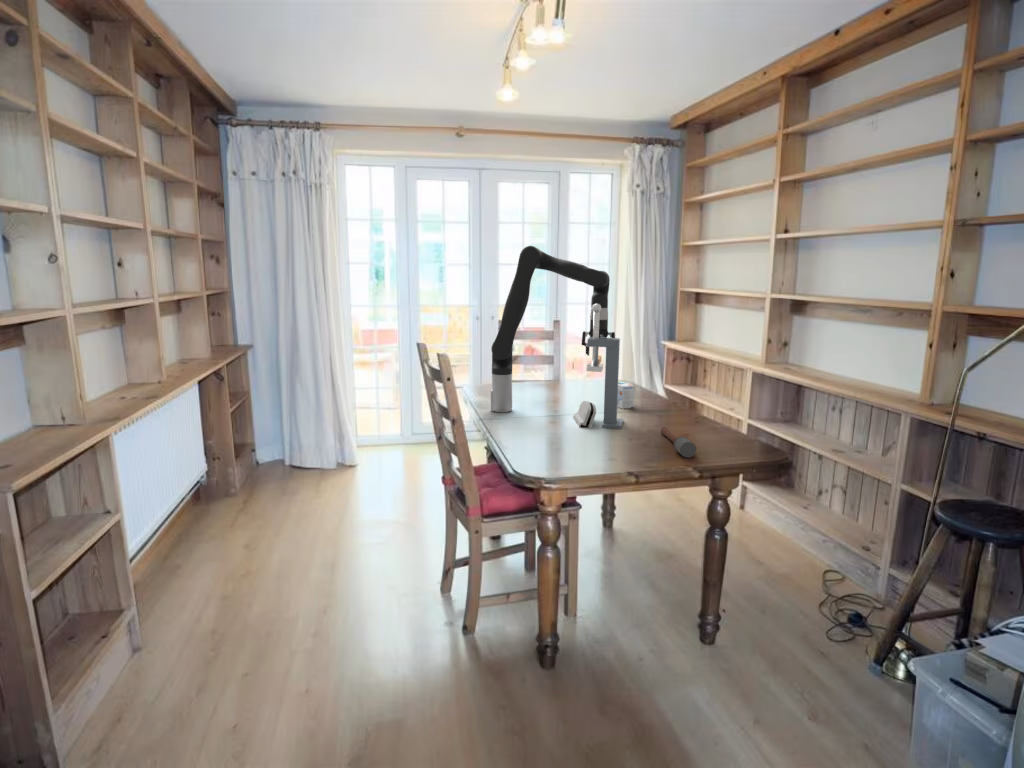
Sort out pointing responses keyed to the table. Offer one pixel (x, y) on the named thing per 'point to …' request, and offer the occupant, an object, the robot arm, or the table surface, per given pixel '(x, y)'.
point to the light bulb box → (625, 395)
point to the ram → (596, 358)
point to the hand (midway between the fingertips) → (598, 355)
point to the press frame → (610, 380)
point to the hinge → (585, 414)
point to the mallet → (680, 443)
